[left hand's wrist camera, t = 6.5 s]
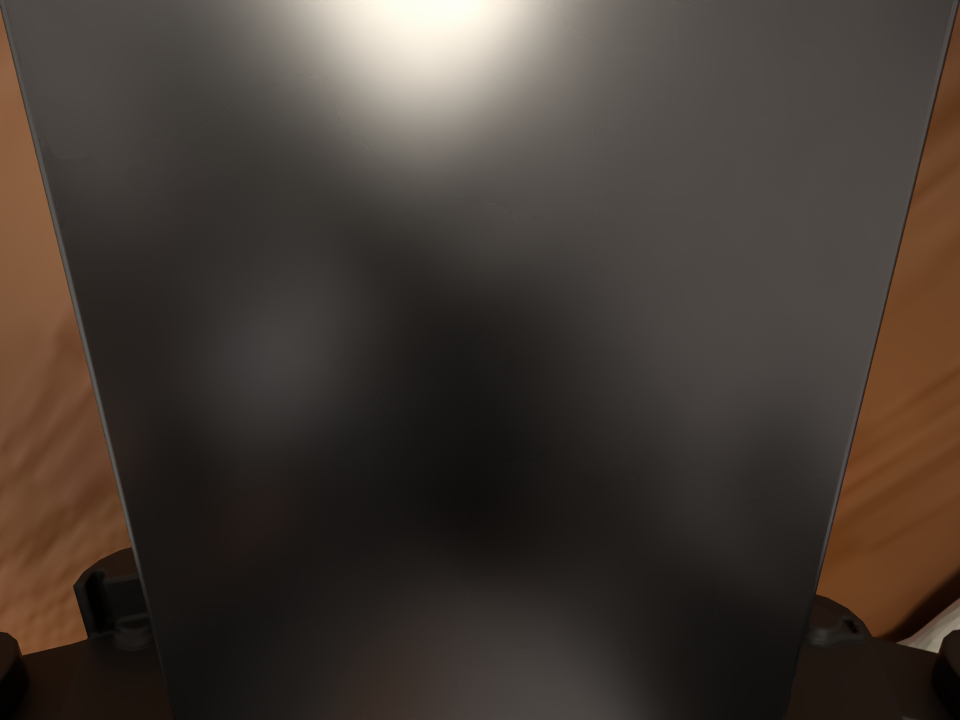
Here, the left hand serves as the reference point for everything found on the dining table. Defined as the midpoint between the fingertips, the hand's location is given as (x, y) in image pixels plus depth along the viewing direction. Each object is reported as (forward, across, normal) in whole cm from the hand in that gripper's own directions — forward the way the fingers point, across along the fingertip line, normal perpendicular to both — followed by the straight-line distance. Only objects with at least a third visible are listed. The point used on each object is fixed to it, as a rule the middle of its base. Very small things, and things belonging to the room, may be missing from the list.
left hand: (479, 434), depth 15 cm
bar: (+1, 0, -9) cm, 9 cm away
